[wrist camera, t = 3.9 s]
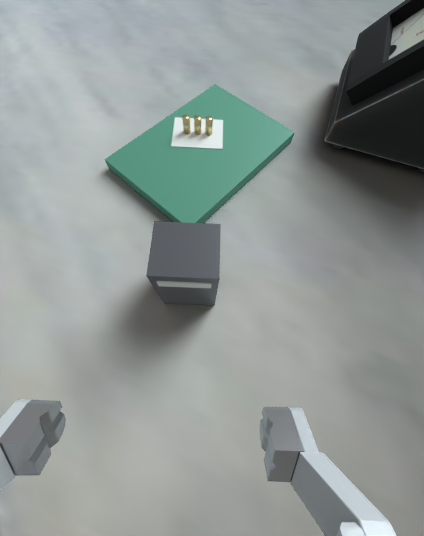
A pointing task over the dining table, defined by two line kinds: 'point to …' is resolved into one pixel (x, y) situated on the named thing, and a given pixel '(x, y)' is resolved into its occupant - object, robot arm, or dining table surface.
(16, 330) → the dining table surface
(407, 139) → the voltmeter
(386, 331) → the dining table surface
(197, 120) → the header pins
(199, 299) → the block
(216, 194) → the header board
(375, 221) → the dining table surface
